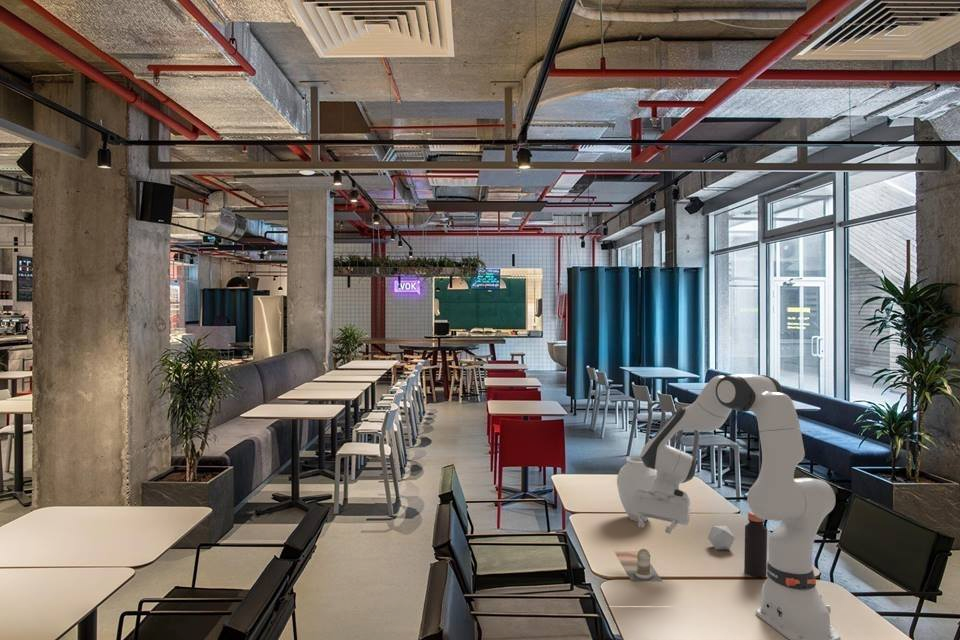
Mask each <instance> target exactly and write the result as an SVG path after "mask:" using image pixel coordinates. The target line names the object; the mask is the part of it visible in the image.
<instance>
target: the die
mask: <svg viewBox="0 0 960 640" xmlns="http://www.w3.org/2000/svg"><path fill="white" fill-rule="evenodd" d="M735 538H736V537H735V536H734V534H733V532H732V531H731V529H729V527H728V526H727V525H712V526H711V529H710V531H709V533H708V536H707V539H708V540H709V542H710V543H711V545H712V547H713V548H714V549H715V550H717V551H718V550H720V551H721V550H725V551H726V550H731V548H732V545H733V543H734V541H735Z"/></svg>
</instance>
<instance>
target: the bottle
mask: <svg viewBox="0 0 960 640" xmlns="http://www.w3.org/2000/svg"><path fill="white" fill-rule="evenodd" d="M747 520H748V523H746V525H744V559H743V561H744V565H743V567H744V569H743V570H744V573H746V574H747V575H750V576H752V577H755V578H756V577H757V578H758V577H759V578H761V577H765V576H767V562H768V561H767V560H768V557H767V556H768V555H767V554H768V552H767V551H768V528H767V527H766V526H765V525H764V523H765V519H761V518H758V517H757V516H756V515H755V514H754V513H753V512H752V511H751V510H749V511H748V513H747Z"/></svg>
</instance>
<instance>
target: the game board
mask: <svg viewBox="0 0 960 640" xmlns="http://www.w3.org/2000/svg"><path fill="white" fill-rule="evenodd" d="M638 552H639V550H638V551H637V550H633V551H632V550H630V551H629V550H628V551H627V550H626V551H625V550H624V551H622V550H621V551H618V550H617V551H615V550H614V553H615V555H616V557H617V559H618V560H619V562H620V565H621V566H622V567H623V569H624V571H625V572H626V575H627V576H628V578H629V580H630V582H663V580H662V578H661V577H660V576H659V574H658V572H657V571H656V570H655V568H654V567H653V565H652V563H650V571H651V572H652V574H653V575H652V578H651V579H647V580H644V579H639V578H637V577H636V576H635V570H637V554H638Z"/></svg>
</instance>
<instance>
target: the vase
mask: <svg viewBox="0 0 960 640" xmlns="http://www.w3.org/2000/svg"><path fill="white" fill-rule="evenodd" d="M656 477H657V470H655V469H651V468H648V467H646V466H645V465H644V463H643V461H642V459H641V455H640V456H639V455H633V456H629V457H626V463H625V464H624V465H623V466H622V467H621V468H620V470H619V472H618V473H617V478H616V486H617V490H618V495H619V498H620V502H621V504H622V507H623V509H624V511H625V513H626V514H627V516H628V517H629V519H630V520H631V521H634V522H639V518H638V515H634V514H632V512H631V511H630V508H629V506H630V503H631V501H632V499H633V495H634V492H635V491H637V490H645V491H651V490H652V486H653V483H654V480H655V479H656ZM638 492H639V491H638ZM648 519H649V517H643V519H641V520H642V521H643V522H646V521H648Z"/></svg>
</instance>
